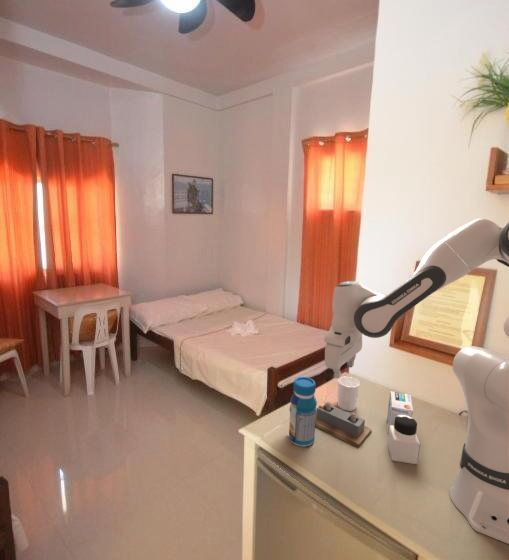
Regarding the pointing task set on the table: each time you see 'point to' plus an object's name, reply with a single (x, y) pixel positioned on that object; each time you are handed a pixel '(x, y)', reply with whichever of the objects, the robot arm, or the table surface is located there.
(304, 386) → the beverage bottle
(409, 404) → the light bulb box
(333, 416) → the grey block with holes
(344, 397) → the white cup
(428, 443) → the table surface
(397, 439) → the medicine bottle
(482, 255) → the robot arm
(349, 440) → the board
